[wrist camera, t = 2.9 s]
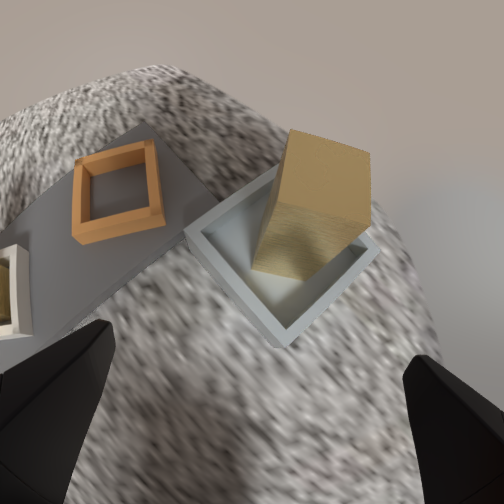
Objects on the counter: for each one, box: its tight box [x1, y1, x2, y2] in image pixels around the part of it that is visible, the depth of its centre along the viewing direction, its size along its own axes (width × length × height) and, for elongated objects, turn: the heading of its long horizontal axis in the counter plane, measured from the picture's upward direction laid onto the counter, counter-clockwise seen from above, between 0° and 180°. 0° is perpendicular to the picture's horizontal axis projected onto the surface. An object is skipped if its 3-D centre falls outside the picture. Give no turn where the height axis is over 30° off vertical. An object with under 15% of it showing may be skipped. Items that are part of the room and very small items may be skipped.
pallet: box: [0, 122, 220, 374], centre depth 20 cm, size 12×26×4 cm, turn 131°
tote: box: [183, 163, 381, 348], centre depth 21 cm, size 10×10×4 cm
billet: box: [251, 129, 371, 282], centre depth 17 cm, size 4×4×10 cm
